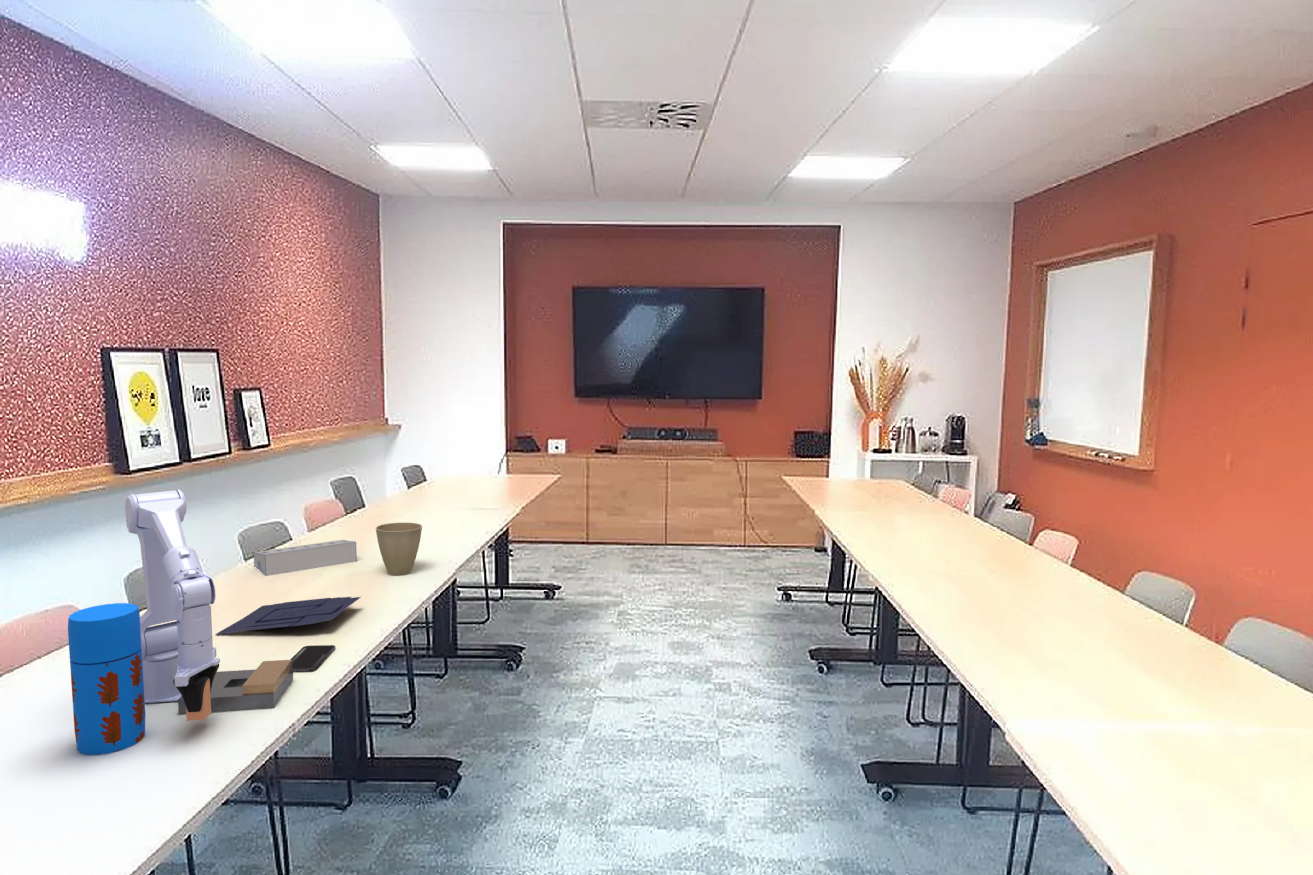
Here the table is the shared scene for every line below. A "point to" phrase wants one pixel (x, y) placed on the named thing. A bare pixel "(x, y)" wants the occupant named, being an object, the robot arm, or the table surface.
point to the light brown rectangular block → (205, 706)
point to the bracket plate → (234, 693)
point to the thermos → (106, 678)
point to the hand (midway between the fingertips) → (198, 706)
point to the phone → (311, 657)
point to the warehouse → (305, 557)
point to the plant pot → (399, 546)
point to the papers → (291, 614)
